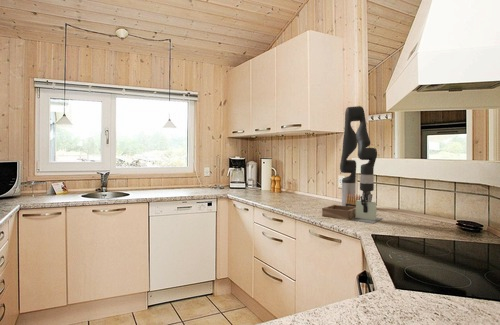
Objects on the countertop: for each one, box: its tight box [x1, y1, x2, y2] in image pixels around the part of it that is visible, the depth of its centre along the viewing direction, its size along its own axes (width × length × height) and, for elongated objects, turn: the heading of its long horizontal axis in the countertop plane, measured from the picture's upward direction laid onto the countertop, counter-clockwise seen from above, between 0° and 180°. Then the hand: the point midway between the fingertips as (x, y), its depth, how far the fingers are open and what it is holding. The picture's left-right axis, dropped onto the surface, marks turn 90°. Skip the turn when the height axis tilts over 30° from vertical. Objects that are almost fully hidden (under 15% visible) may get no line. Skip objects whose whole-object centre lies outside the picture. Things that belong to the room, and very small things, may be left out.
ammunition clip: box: [346, 193, 361, 207], centre depth 212 cm, size 11×2×12 cm, turn 37°
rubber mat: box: [350, 217, 383, 225], centre depth 188 cm, size 16×13×1 cm
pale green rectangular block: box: [354, 199, 378, 221], centre depth 188 cm, size 2×11×10 cm, turn 51°
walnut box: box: [321, 204, 356, 221], centre depth 199 cm, size 16×16×5 cm
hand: (366, 212), depth 188 cm, fingers closed on pale green rectangular block, 2 cm apart
